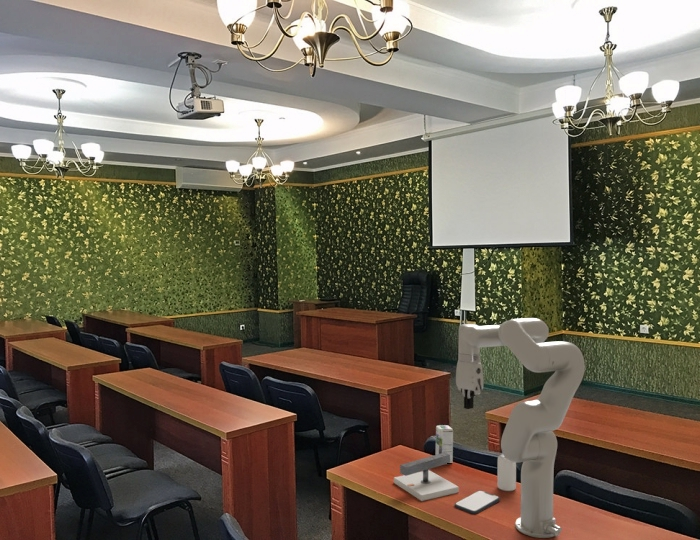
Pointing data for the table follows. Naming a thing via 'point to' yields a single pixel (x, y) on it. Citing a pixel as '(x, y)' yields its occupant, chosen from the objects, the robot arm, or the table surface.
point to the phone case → (477, 502)
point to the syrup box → (444, 440)
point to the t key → (424, 465)
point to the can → (506, 474)
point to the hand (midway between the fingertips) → (468, 408)
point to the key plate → (426, 485)
